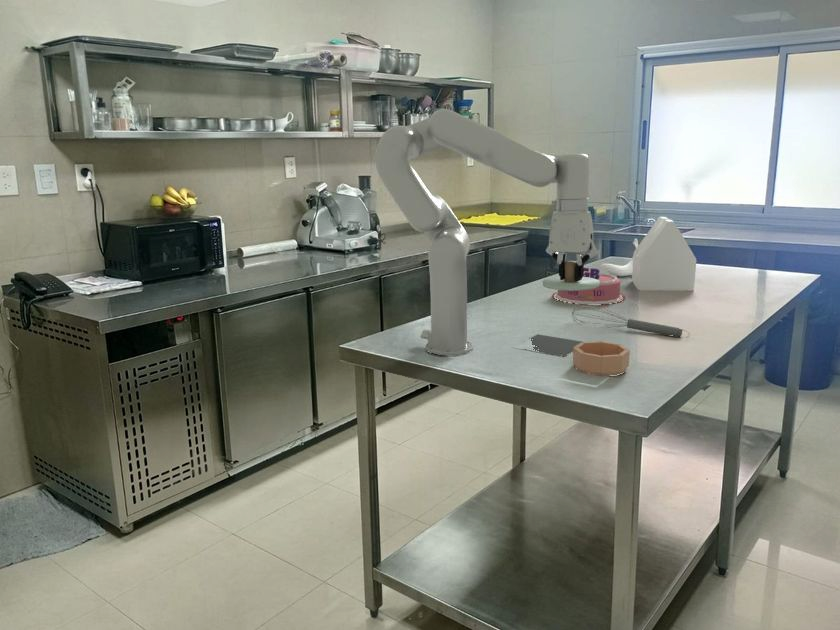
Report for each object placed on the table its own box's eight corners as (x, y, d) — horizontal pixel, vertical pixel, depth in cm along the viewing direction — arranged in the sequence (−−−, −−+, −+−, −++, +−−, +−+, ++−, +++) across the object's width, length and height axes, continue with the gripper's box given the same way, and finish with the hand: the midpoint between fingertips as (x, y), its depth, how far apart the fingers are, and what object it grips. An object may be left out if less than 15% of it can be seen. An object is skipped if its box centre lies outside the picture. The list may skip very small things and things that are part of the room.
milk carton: (683, 282, 255) (688, 216, 249) (693, 290, 240) (699, 221, 234) (631, 281, 258) (635, 216, 252) (638, 290, 243) (642, 221, 237)
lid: (533, 287, 166) (533, 264, 164) (555, 277, 177) (556, 255, 175) (587, 292, 158) (588, 268, 156) (607, 281, 169) (608, 259, 168)
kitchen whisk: (686, 341, 181) (688, 319, 179) (568, 326, 199) (568, 305, 197) (691, 336, 185) (693, 314, 184) (575, 321, 204) (576, 301, 202)
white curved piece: (599, 277, 267) (601, 240, 264) (637, 272, 274) (639, 237, 271) (607, 279, 263) (608, 242, 259) (645, 274, 270) (647, 238, 266)
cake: (543, 302, 228) (544, 272, 226) (561, 288, 250) (562, 260, 247) (618, 309, 217) (620, 277, 215) (630, 293, 239) (632, 264, 237)
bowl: (566, 371, 159) (567, 351, 158) (586, 357, 168) (587, 338, 167) (615, 380, 152) (616, 359, 151) (633, 366, 161) (634, 346, 160)
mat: (511, 348, 177) (511, 347, 177) (537, 335, 188) (537, 334, 188) (564, 358, 168) (564, 357, 168) (587, 343, 180) (587, 342, 180)
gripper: (534, 206, 164) (534, 280, 168) (599, 207, 155) (597, 285, 159) (547, 203, 170) (546, 274, 174) (610, 204, 161) (608, 279, 165)
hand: (571, 279), depth 167 cm, fingers closed on lid, 3 cm apart
